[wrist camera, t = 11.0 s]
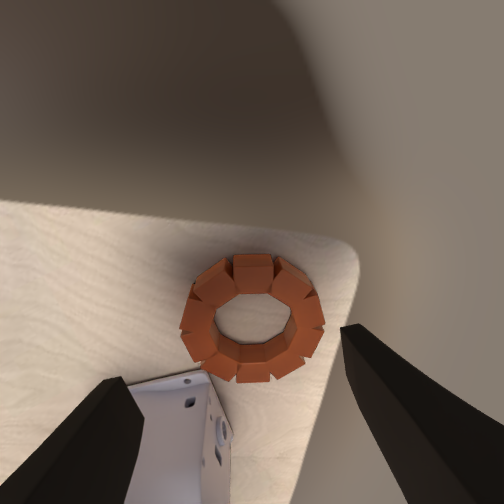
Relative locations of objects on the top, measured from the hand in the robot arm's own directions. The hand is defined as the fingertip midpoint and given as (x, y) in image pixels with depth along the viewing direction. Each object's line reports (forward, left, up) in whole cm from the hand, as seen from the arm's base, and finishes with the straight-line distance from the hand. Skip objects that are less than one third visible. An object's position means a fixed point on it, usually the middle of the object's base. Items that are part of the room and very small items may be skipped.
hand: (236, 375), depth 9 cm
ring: (0, +4, -8) cm, 9 cm away
